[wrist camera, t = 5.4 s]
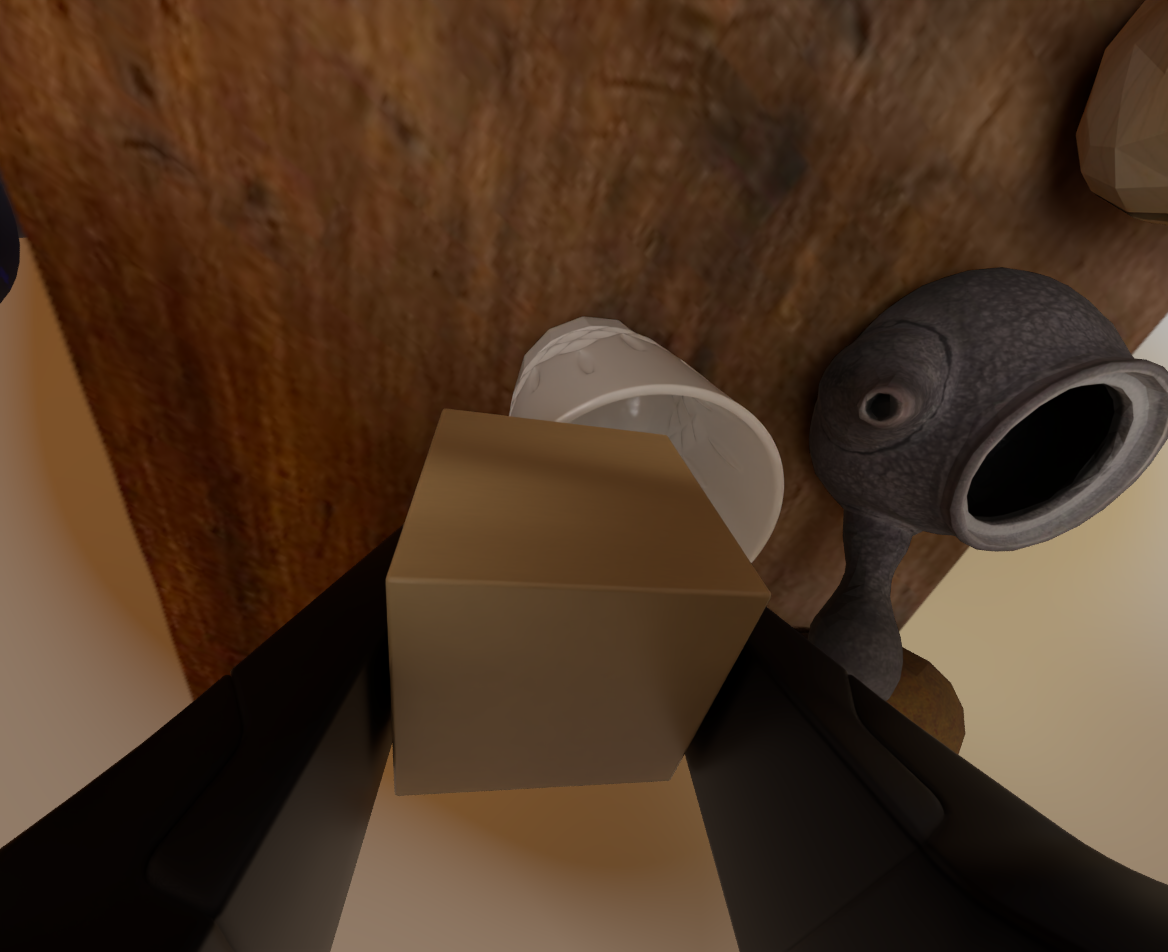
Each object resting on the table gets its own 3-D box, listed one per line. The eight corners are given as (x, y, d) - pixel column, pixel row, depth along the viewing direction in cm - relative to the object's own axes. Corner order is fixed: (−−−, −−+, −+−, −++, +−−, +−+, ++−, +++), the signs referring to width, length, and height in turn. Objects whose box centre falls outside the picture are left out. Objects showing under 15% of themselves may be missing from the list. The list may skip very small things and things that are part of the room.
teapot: (847, 186, 17) (1159, 172, 9) (1084, 316, 22) (1441, 388, 14) (650, 547, 26) (716, 713, 18) (850, 587, 31) (979, 735, 22)
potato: (939, 774, 34) (1000, 692, 33) (909, 826, 25) (989, 719, 24) (836, 693, 40) (884, 620, 38) (782, 713, 31) (842, 622, 30)
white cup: (706, 361, 21) (843, 474, 12) (610, 489, 23) (666, 650, 15) (561, 260, 17) (608, 316, 9) (471, 421, 20) (443, 576, 12)
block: (436, 583, 9) (393, 798, 6) (443, 407, 7) (384, 580, 4) (618, 590, 10) (671, 782, 7) (667, 433, 8) (775, 595, 5)
